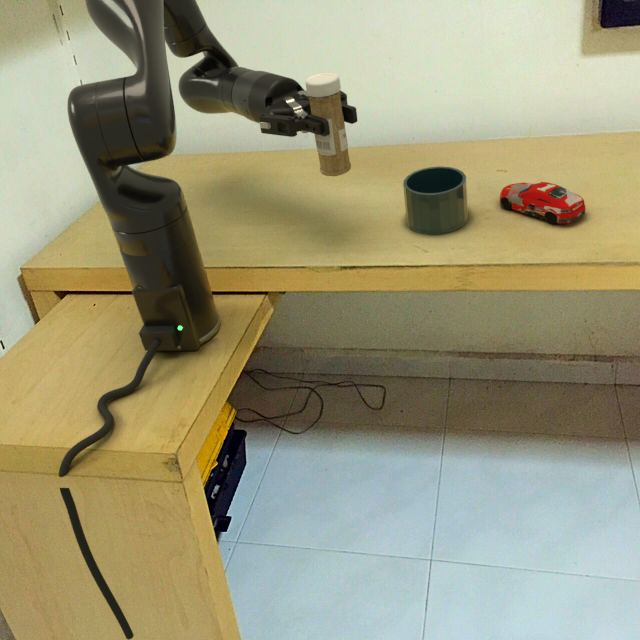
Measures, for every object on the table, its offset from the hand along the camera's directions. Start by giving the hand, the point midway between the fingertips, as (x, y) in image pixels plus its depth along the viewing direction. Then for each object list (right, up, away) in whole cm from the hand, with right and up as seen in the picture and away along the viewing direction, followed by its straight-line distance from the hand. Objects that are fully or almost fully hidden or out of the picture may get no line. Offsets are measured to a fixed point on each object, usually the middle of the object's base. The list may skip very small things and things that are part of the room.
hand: (341, 122), depth 100 cm
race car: (+30, -11, +10) cm, 33 cm away
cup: (+15, -11, +12) cm, 22 cm away
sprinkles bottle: (-1, -5, +6) cm, 8 cm away
